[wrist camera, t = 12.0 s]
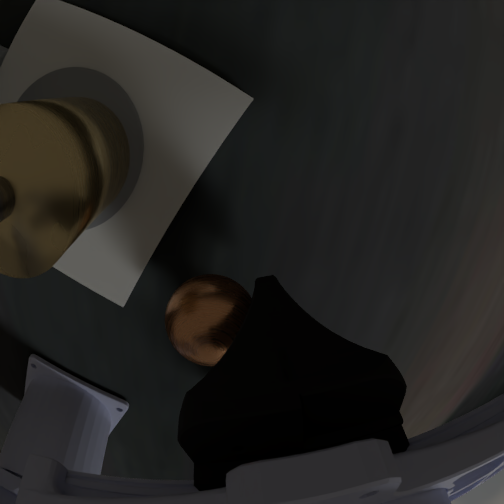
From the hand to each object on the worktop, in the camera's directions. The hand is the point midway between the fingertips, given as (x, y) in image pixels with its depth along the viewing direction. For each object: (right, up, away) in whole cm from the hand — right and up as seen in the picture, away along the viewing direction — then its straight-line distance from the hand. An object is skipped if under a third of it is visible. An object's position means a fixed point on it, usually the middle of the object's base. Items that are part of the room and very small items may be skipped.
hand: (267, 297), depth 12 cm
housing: (-8, +6, -2) cm, 10 cm away
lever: (-1, -3, +3) cm, 4 cm away
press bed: (-10, +7, -1) cm, 12 cm away
